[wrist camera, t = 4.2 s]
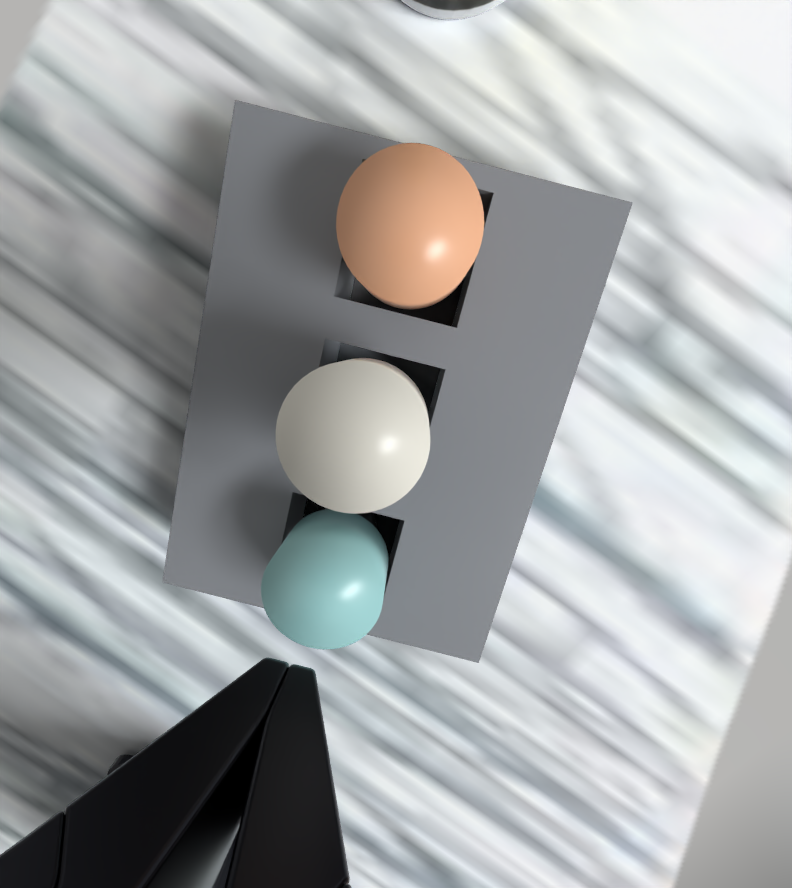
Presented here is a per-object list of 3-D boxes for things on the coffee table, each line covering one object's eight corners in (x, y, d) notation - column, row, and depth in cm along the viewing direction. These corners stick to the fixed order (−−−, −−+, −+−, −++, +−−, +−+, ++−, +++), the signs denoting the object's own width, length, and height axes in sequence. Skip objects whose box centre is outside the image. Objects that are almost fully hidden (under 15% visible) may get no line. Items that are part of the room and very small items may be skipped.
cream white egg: (412, 471, 12) (408, 529, 9) (311, 446, 12) (262, 492, 9) (439, 370, 12) (448, 383, 8) (333, 344, 12) (292, 343, 8)
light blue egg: (381, 577, 15) (367, 662, 11) (296, 555, 15) (251, 632, 11) (402, 496, 14) (396, 555, 10) (314, 473, 14) (273, 523, 10)
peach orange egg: (448, 326, 13) (461, 317, 9) (351, 300, 13) (322, 283, 9) (476, 221, 12) (502, 164, 8) (375, 195, 12) (354, 126, 8)
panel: (469, 613, 15) (478, 662, 13) (202, 545, 15) (162, 582, 13) (592, 229, 12) (632, 202, 10) (270, 146, 12) (235, 100, 10)
